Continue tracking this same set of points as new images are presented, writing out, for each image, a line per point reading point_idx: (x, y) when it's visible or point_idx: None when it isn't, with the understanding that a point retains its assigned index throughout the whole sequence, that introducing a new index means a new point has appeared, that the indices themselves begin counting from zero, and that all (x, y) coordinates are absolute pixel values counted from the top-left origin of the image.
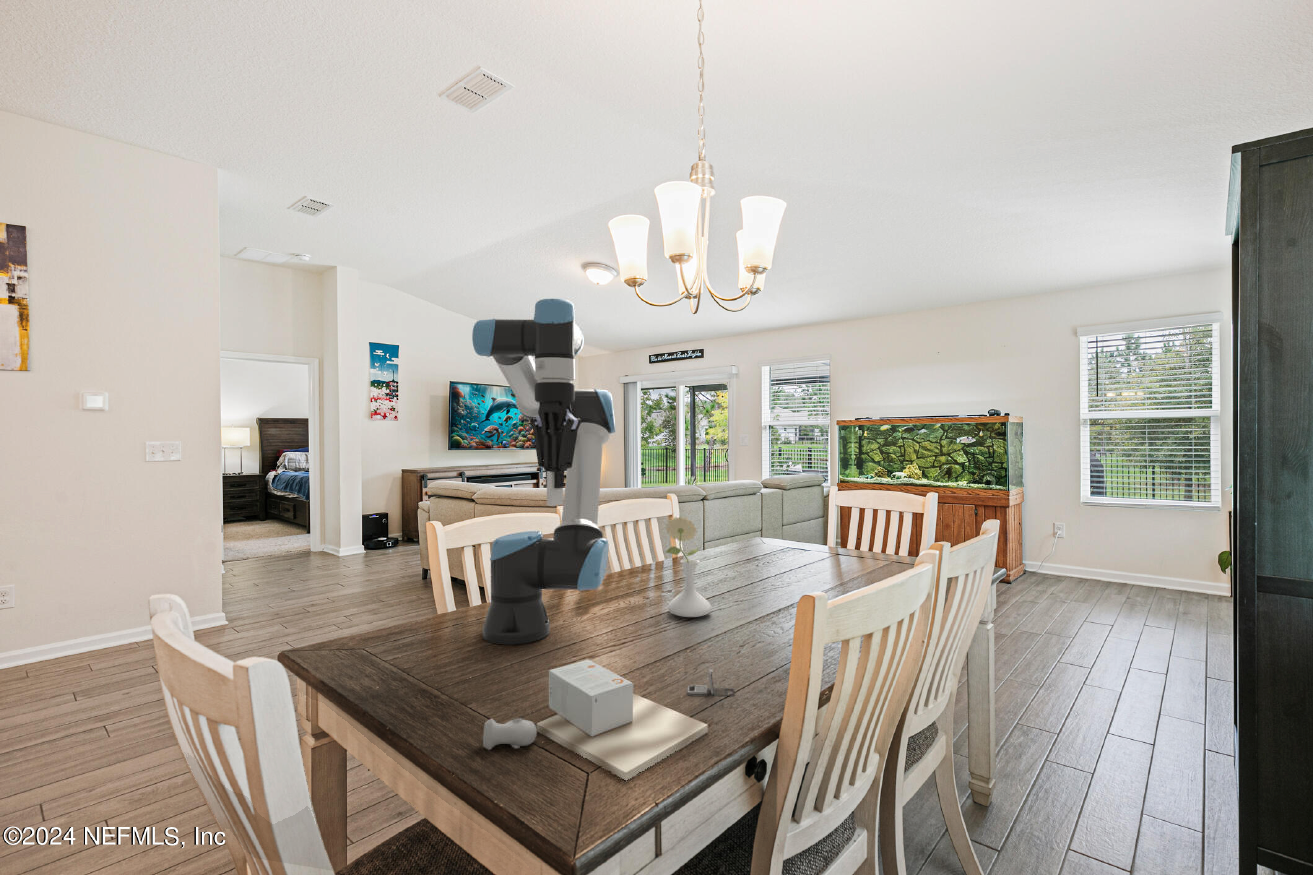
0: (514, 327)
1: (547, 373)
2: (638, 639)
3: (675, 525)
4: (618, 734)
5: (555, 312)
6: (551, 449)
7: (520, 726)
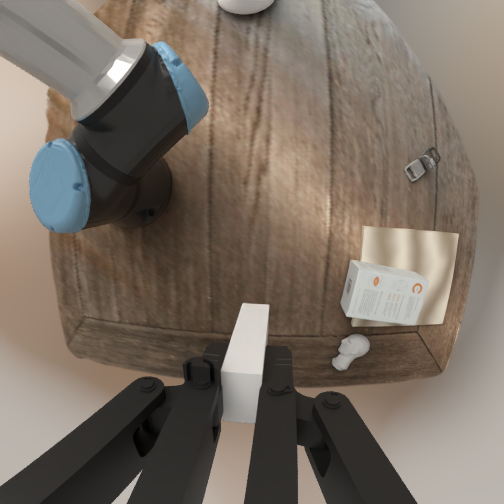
0: None
1: None
2: (263, 90)
3: None
4: None
5: None
6: (201, 488)
7: (362, 353)
